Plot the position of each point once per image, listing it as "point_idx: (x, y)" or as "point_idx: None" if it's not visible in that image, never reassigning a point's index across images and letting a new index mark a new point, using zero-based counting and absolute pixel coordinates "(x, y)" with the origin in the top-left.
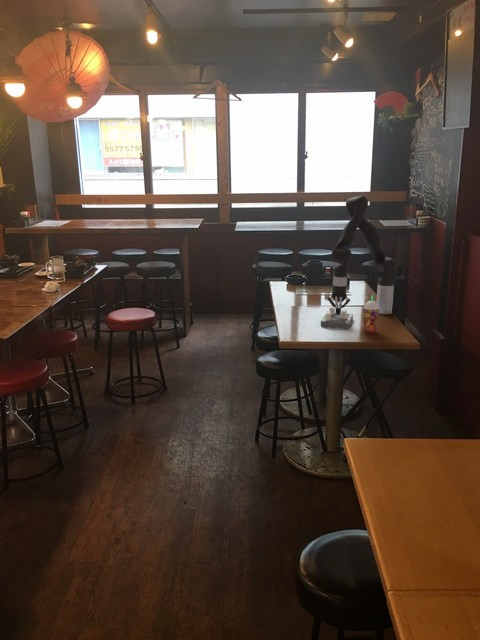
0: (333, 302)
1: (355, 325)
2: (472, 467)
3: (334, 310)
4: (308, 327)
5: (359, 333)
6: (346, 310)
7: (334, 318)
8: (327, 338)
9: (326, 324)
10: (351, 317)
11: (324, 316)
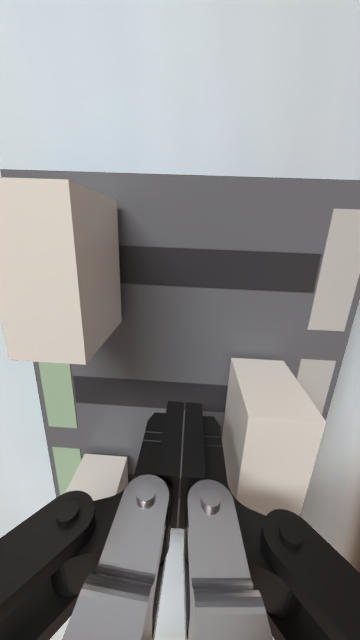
0: (10, 611)
1: (347, 395)
2: None
3: (103, 270)
4: (14, 506)
5: (351, 547)
6: (315, 447)
7: None
8: (167, 627)
9: None
10: (344, 344)
11: (40, 383)
